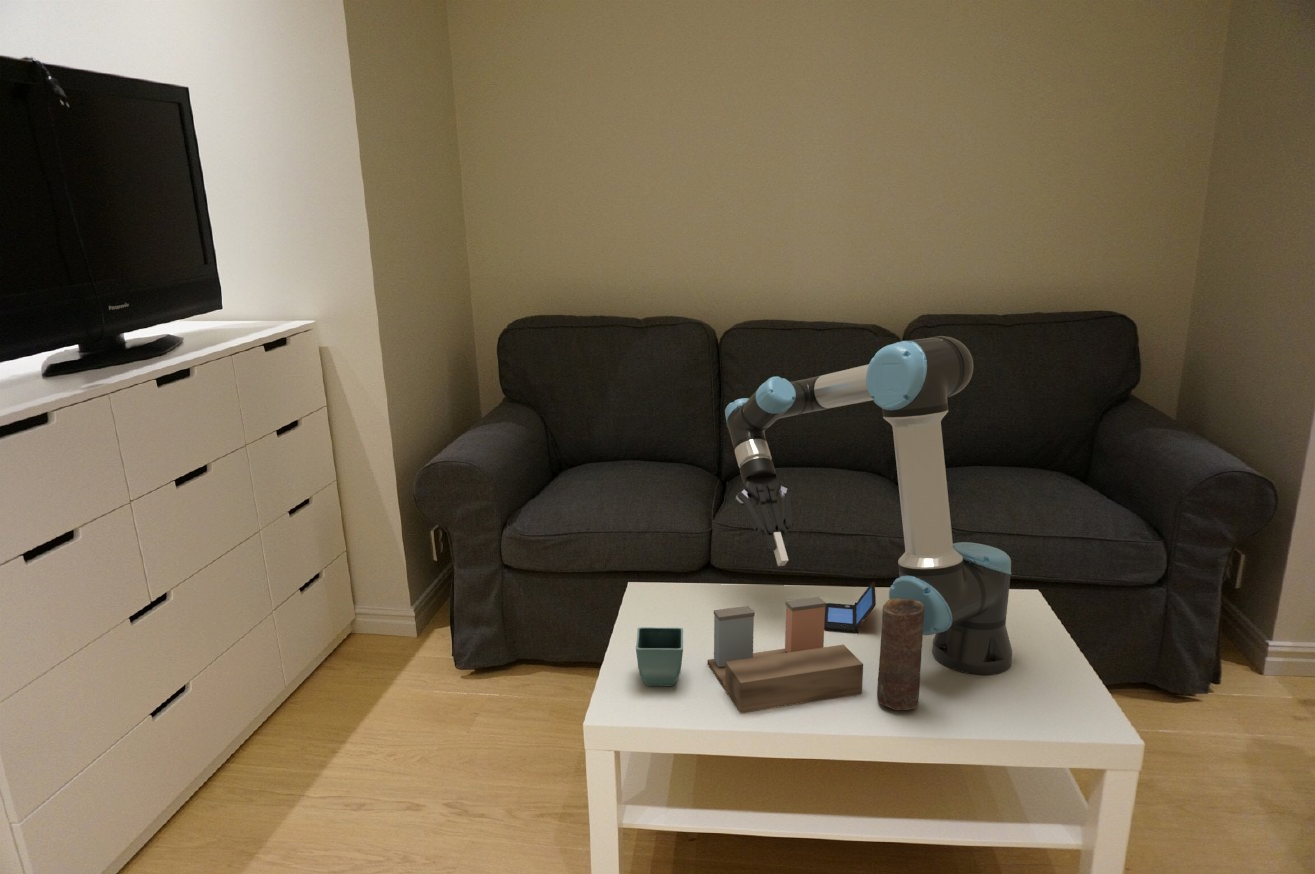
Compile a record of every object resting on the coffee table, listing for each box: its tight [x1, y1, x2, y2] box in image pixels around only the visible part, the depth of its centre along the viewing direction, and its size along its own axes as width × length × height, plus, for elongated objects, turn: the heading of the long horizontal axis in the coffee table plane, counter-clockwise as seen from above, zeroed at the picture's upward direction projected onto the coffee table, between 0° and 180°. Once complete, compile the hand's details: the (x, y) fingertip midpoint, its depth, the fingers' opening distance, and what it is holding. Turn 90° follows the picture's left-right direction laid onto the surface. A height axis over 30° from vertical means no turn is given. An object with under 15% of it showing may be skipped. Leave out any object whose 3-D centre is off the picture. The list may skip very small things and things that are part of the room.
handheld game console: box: [824, 581, 877, 635], centre depth 199 cm, size 12×11×7 cm
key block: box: [707, 644, 864, 714], centre depth 175 cm, size 18×24×6 cm
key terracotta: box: [784, 596, 827, 653], centre depth 183 cm, size 3×7×11 cm, turn 105°
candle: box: [876, 598, 925, 711], centre depth 164 cm, size 8×7×20 cm
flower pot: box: [635, 626, 684, 687], centre depth 175 cm, size 9×9×9 cm
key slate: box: [713, 605, 755, 667], centre depth 179 cm, size 3×7×11 cm, turn 105°
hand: (783, 563), depth 191 cm, fingers closed
